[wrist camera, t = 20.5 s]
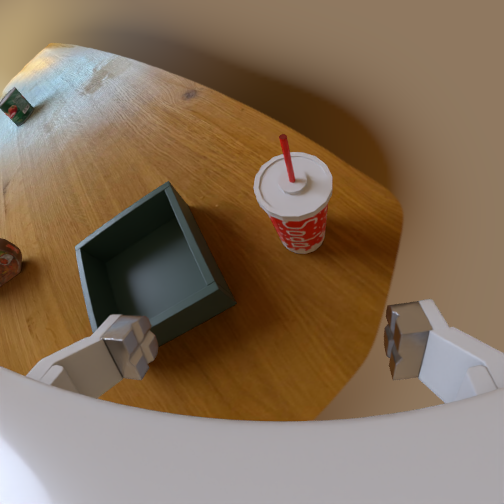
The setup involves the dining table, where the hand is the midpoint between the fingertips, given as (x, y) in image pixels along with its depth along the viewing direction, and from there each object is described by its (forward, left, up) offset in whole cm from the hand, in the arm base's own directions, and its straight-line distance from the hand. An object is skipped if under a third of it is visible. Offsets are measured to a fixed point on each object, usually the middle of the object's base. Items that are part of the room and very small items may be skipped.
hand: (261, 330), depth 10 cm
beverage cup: (+11, -6, -18) cm, 22 cm away
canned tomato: (+93, +40, -18) cm, 103 cm away
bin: (+14, +10, -18) cm, 25 cm away
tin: (+32, +39, -18) cm, 54 cm away
